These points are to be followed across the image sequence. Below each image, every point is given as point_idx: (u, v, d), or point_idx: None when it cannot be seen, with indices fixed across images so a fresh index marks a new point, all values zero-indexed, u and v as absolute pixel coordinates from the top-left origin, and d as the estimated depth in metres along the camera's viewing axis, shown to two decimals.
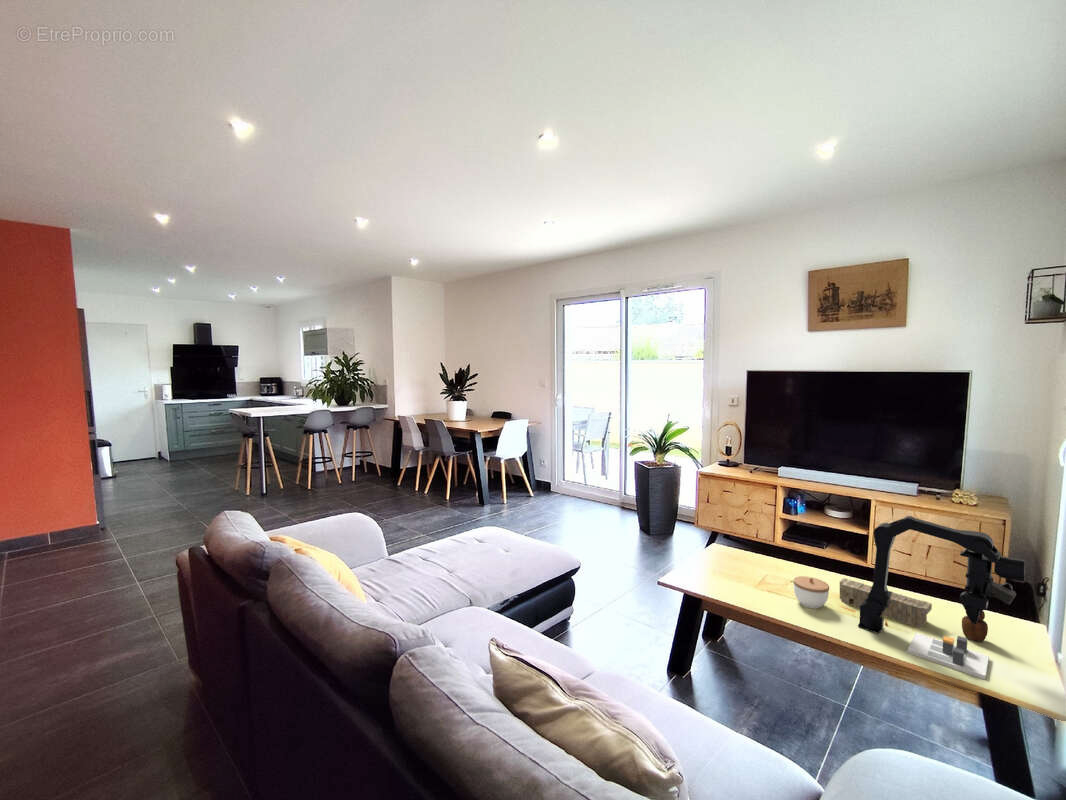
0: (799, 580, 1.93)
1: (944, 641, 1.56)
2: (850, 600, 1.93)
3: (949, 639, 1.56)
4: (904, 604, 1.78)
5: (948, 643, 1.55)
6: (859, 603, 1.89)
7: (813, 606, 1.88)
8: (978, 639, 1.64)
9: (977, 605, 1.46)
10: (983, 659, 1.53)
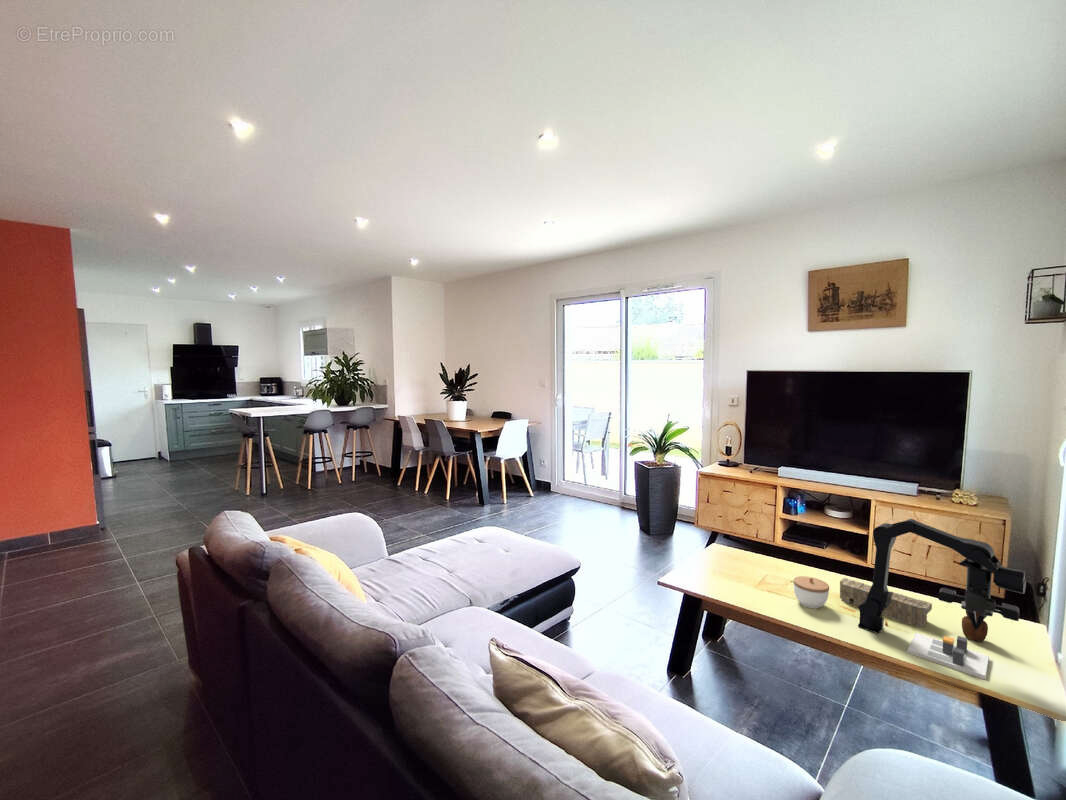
0: (799, 580, 1.93)
1: (944, 641, 1.56)
2: (850, 600, 1.93)
3: (949, 639, 1.56)
4: (904, 603, 1.78)
5: (948, 643, 1.55)
6: (859, 603, 1.90)
7: (813, 606, 1.88)
8: (978, 639, 1.64)
9: None
10: (983, 659, 1.53)
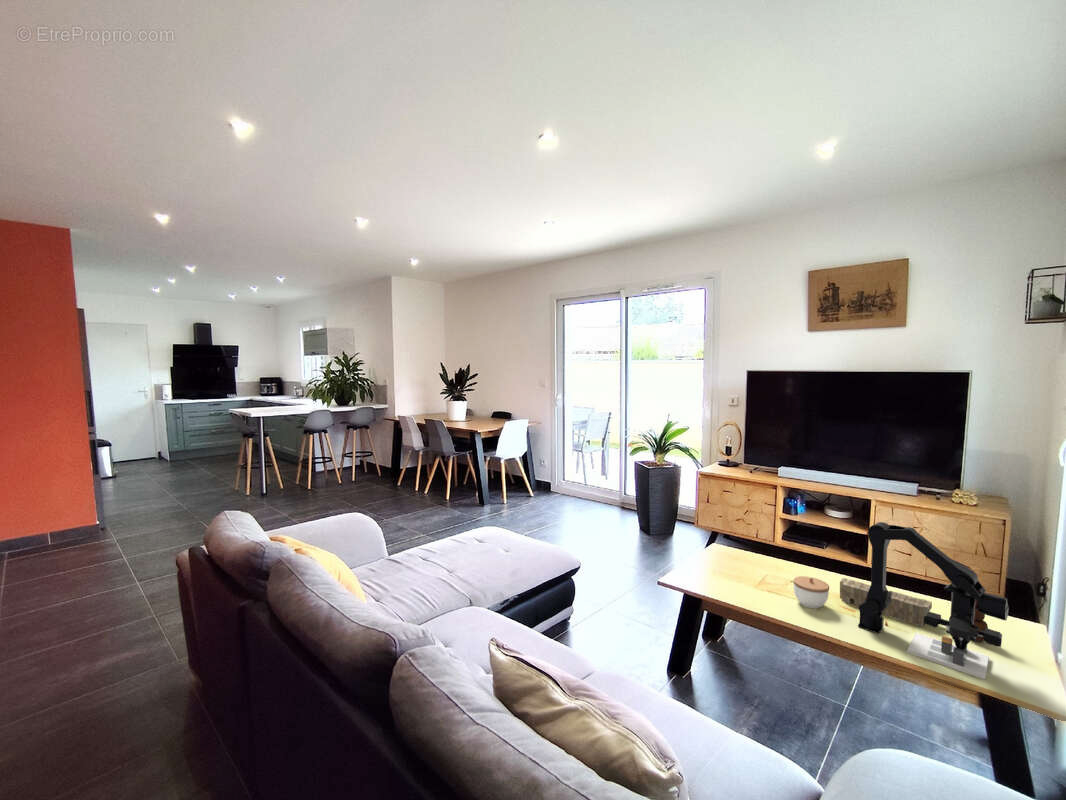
0: (799, 580, 1.93)
1: (943, 641, 1.56)
2: (851, 600, 1.93)
3: (948, 639, 1.56)
4: (905, 603, 1.79)
5: (947, 643, 1.55)
6: (860, 603, 1.90)
7: (813, 606, 1.88)
8: (978, 639, 1.64)
9: None
10: (983, 659, 1.53)
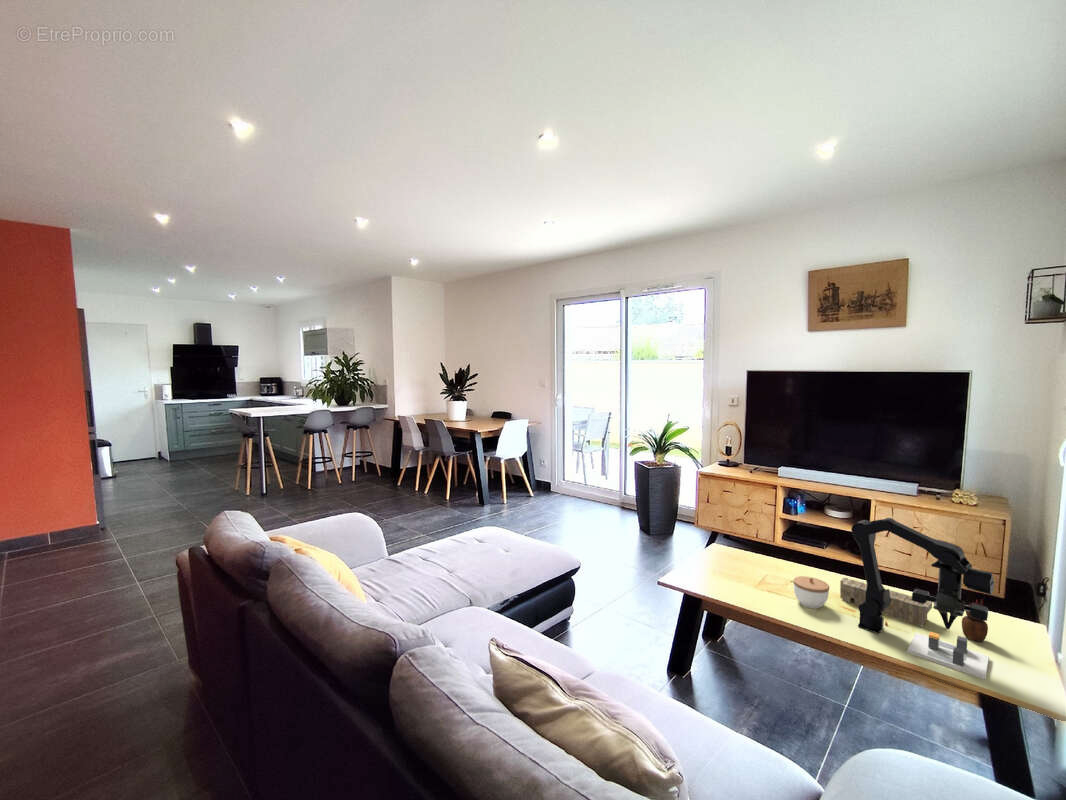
0: (799, 580, 1.93)
1: (930, 636, 1.59)
2: (851, 599, 1.94)
3: (935, 635, 1.59)
4: (905, 602, 1.79)
5: (934, 638, 1.58)
6: (860, 602, 1.90)
7: (813, 606, 1.88)
8: (978, 639, 1.64)
9: None
10: (983, 659, 1.53)
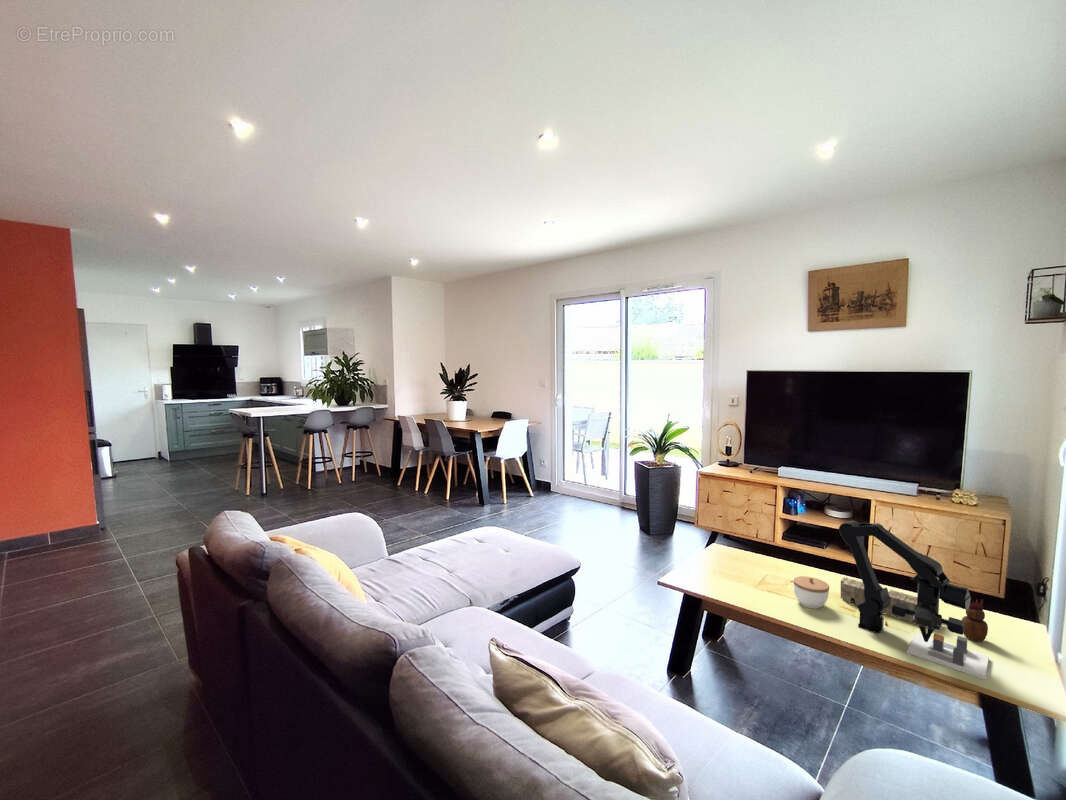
0: (799, 580, 1.93)
1: (934, 638, 1.58)
2: (851, 599, 1.94)
3: (939, 636, 1.58)
4: (906, 602, 1.79)
5: (938, 640, 1.57)
6: (860, 602, 1.90)
7: (813, 606, 1.88)
8: (978, 639, 1.64)
9: None
10: (983, 659, 1.53)
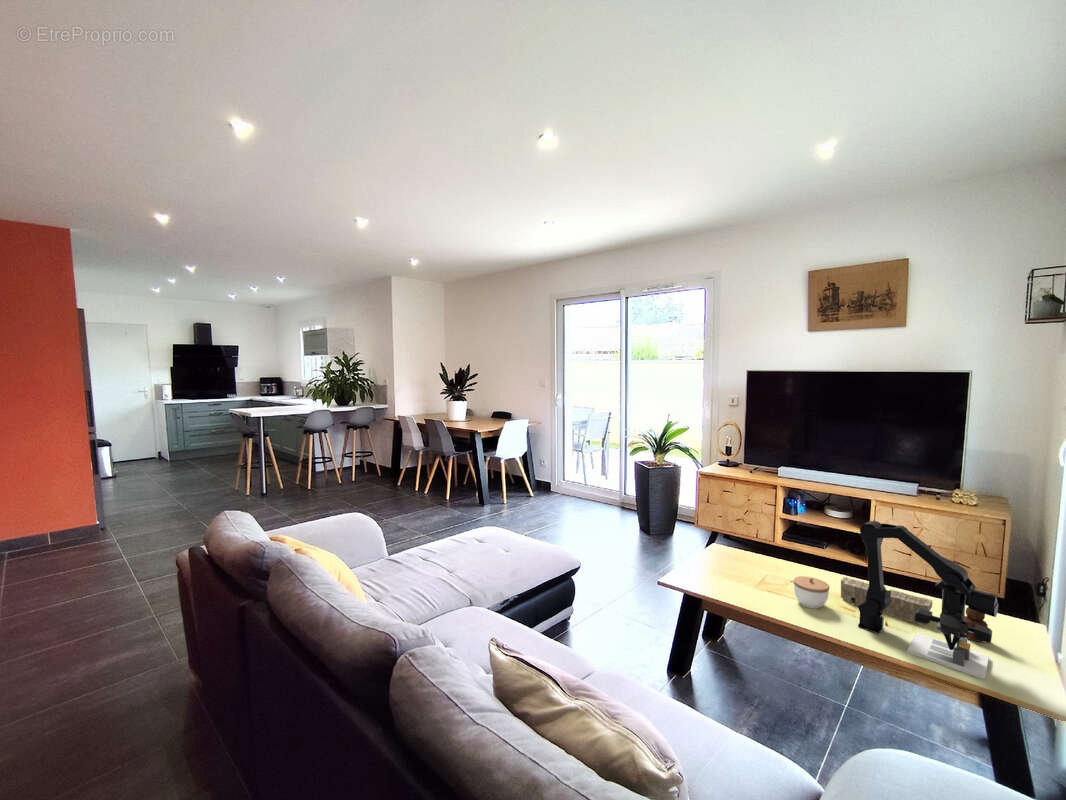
0: (799, 580, 1.93)
1: (960, 646, 1.53)
2: (852, 599, 1.94)
3: (965, 644, 1.53)
4: (906, 601, 1.80)
5: (964, 648, 1.52)
6: (861, 602, 1.90)
7: (813, 606, 1.88)
8: None
9: None
10: (983, 659, 1.53)
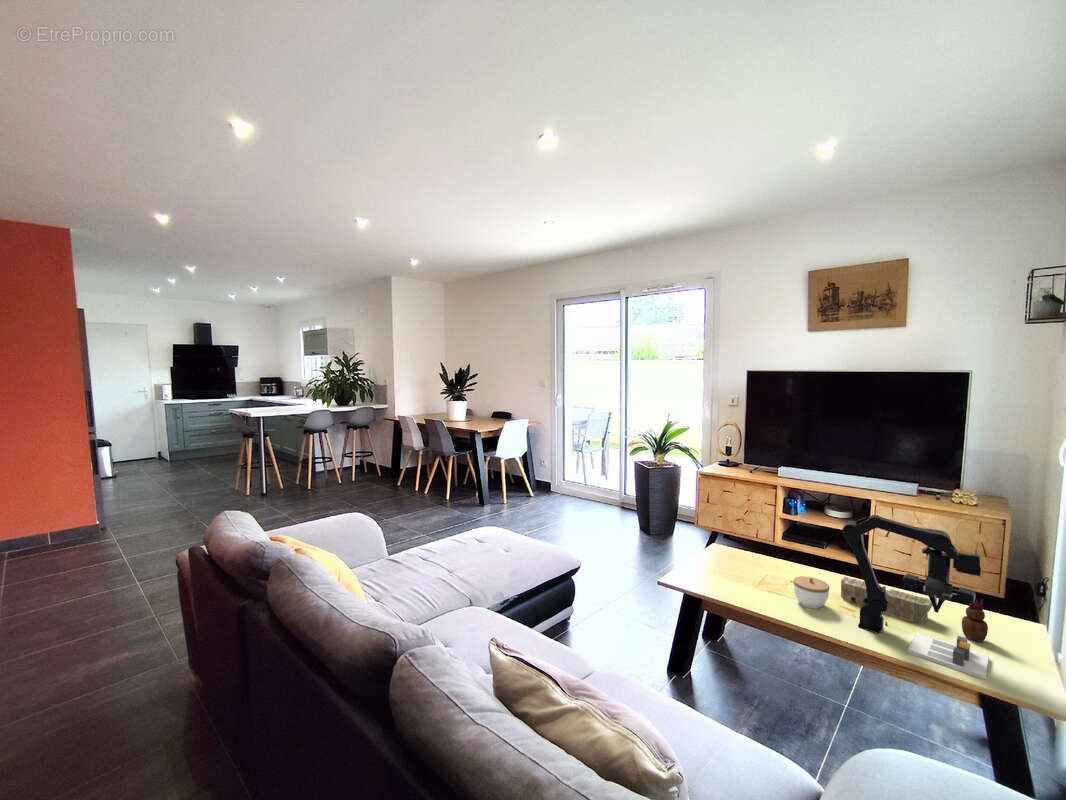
0: (799, 580, 1.93)
1: (960, 646, 1.53)
2: (852, 598, 1.94)
3: (965, 644, 1.53)
4: (906, 601, 1.80)
5: (964, 648, 1.52)
6: (861, 602, 1.91)
7: (813, 606, 1.88)
8: (978, 639, 1.64)
9: None
10: (983, 659, 1.53)
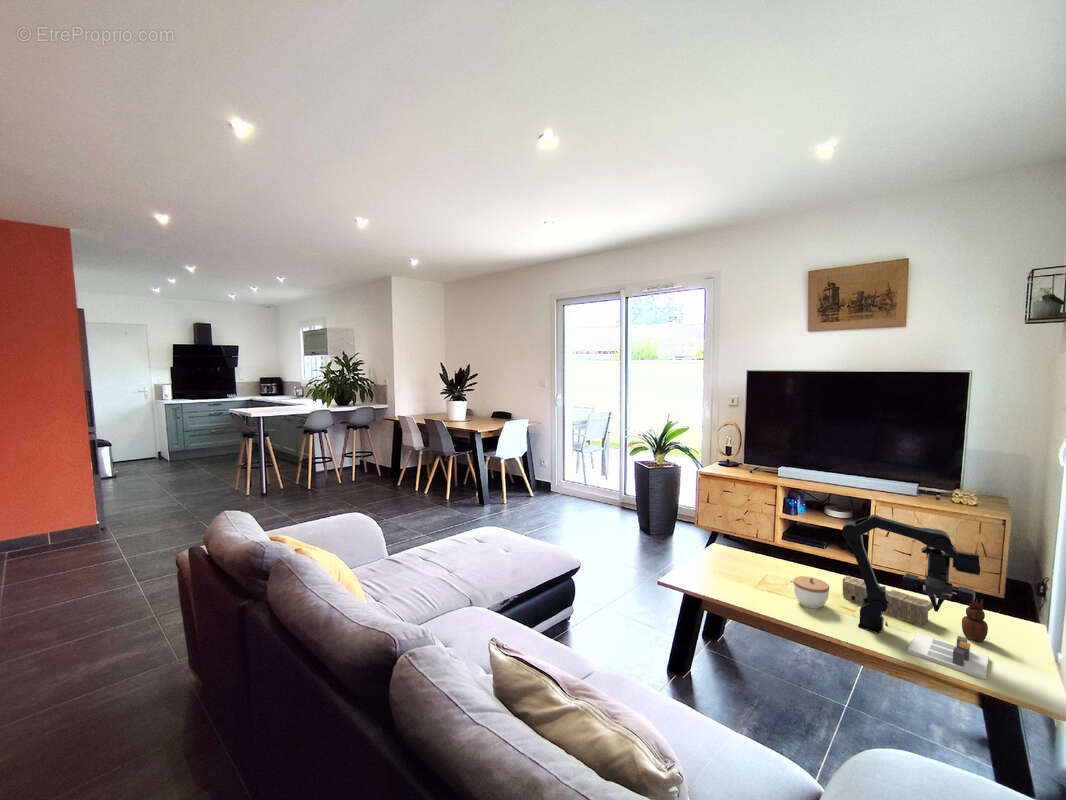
0: (799, 580, 1.93)
1: (960, 646, 1.53)
2: (852, 597, 1.96)
3: (965, 644, 1.53)
4: (904, 601, 1.80)
5: (964, 648, 1.52)
6: (860, 600, 1.92)
7: (813, 606, 1.88)
8: (978, 639, 1.64)
9: None
10: (983, 659, 1.53)
